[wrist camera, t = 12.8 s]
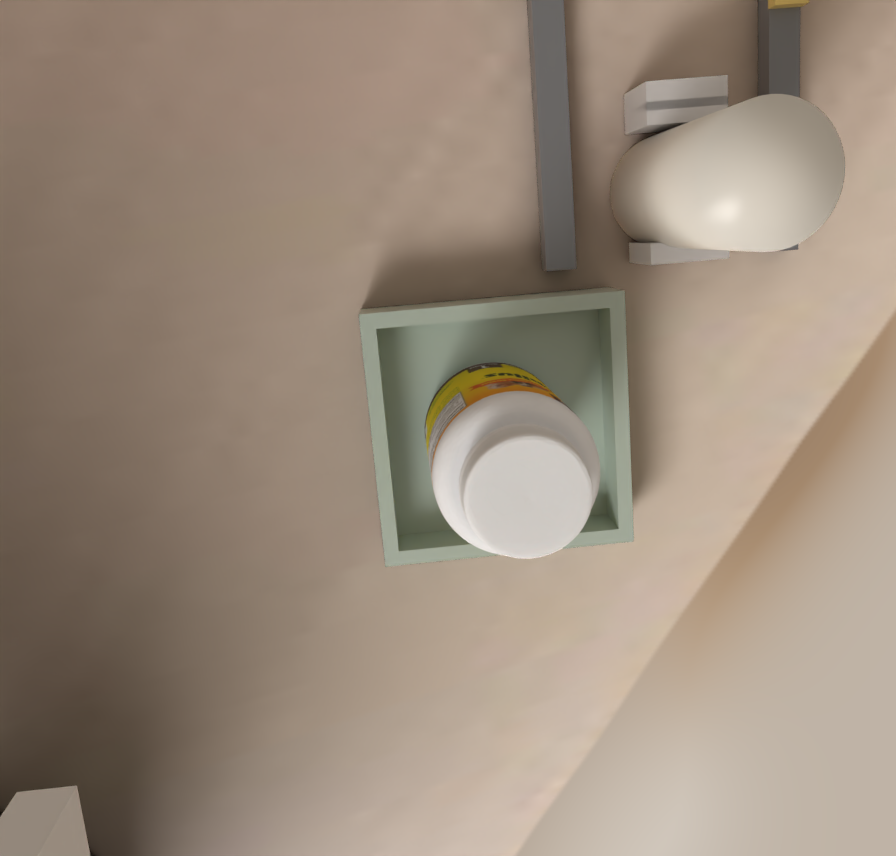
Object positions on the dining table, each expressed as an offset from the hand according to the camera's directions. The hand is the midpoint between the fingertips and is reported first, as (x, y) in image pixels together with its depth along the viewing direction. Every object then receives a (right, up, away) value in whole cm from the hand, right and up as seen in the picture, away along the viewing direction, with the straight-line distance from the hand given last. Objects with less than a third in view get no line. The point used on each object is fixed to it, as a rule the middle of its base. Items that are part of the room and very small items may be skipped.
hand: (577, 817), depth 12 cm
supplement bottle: (0, +5, +24) cm, 25 cm away
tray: (0, +6, +24) cm, 25 cm away
